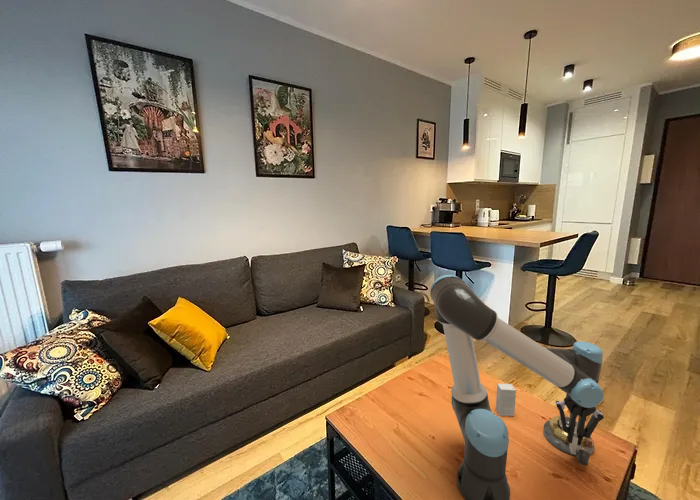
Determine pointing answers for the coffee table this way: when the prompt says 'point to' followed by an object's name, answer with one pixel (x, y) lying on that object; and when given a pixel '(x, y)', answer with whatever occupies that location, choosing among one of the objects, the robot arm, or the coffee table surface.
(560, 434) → the ball lever
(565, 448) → the housing
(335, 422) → the coffee table surface
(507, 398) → the skincare box
